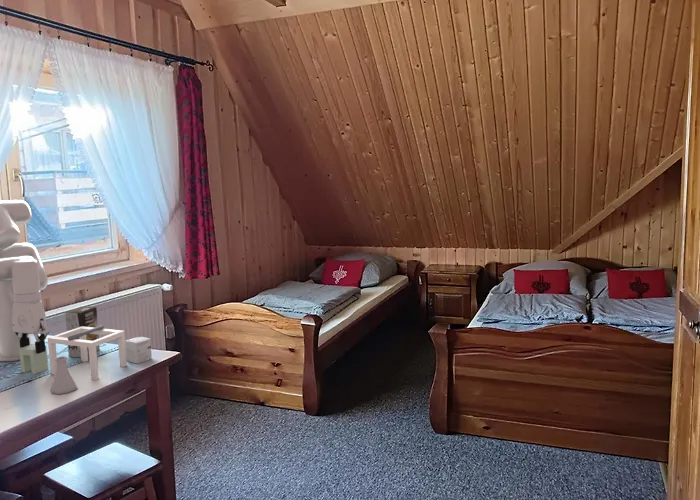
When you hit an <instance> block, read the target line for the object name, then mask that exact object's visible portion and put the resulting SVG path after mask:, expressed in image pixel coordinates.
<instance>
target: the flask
mask: <svg viewBox="0 0 700 500" xmlns="http://www.w3.org/2000/svg"><path fill="white" fill-rule="evenodd" d="M55 360H56V362H57V367H56V373H55V375H54V377H53V380H52V385H51V386H50V393H51V394H55V395H62V394H67V393H72V392H73V391H74V390H75V391H76V390H77V389H78V387H77V385H76V382H75V381H74V379H73V376H72V375H71V372H70V370H69V368H68V364H67V361H68V357H67V356H65V355H63V356H57V358H55Z"/></svg>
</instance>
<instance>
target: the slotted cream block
mask: <svg viewBox="0 0 700 500" xmlns="http://www.w3.org/2000/svg"><path fill="white" fill-rule="evenodd" d="M47 351H48V350H47V345H46V344H45V352H42V353H39V354H36V349H35V343H31V344H30V345H28V346H25V347H22V348H19V352H20V360H19V361H20V368H21V369H20V370H21V371H20V372H21V373H27V372H30V371H31V374H32V375H37V374H38V373H39V374H40V373H41V372H44V371H47V370H49V362H48V352H47Z"/></svg>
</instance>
